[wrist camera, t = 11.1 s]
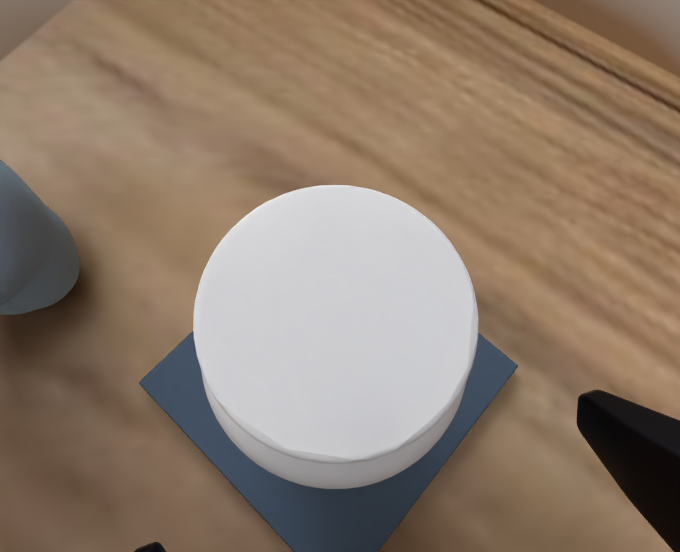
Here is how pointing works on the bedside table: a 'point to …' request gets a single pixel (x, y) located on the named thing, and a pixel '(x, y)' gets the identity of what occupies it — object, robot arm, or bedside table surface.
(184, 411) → the mat
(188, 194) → the bedside table surface
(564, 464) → the bedside table surface
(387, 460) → the pill bottle
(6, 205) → the wolf head
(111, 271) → the bedside table surface
